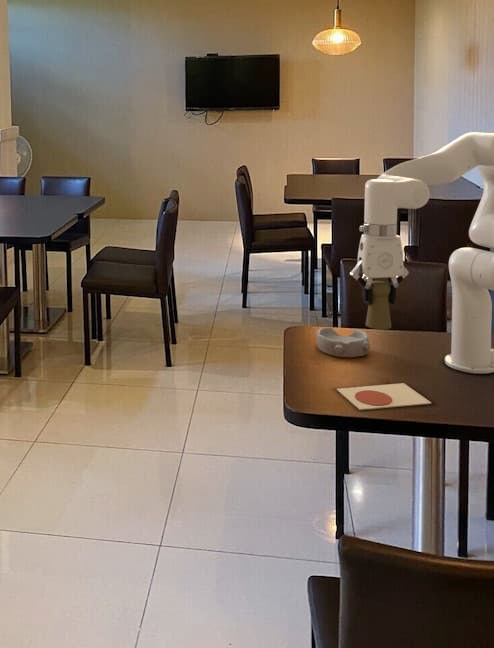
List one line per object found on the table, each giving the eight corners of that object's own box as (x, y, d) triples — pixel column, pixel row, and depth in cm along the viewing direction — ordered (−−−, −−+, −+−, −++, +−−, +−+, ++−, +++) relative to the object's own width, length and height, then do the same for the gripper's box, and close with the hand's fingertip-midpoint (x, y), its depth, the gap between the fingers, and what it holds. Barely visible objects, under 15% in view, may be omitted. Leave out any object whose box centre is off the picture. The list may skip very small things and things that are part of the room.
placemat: (403, 384, 184) (403, 382, 184) (431, 403, 172) (431, 401, 172) (336, 389, 181) (336, 387, 181) (360, 410, 169) (360, 408, 169)
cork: (393, 330, 177) (394, 285, 176) (366, 328, 178) (367, 284, 178) (389, 322, 183) (390, 279, 182) (364, 321, 184) (364, 278, 184)
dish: (312, 342, 215) (312, 325, 215) (360, 342, 215) (360, 325, 215) (324, 360, 201) (324, 342, 201) (375, 360, 200) (375, 342, 200)
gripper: (354, 234, 174) (353, 309, 175) (421, 231, 177) (419, 305, 178) (340, 228, 181) (339, 300, 183) (404, 226, 184) (403, 297, 185)
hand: (378, 302), depth 180 cm, fingers closed on cork, 5 cm apart
